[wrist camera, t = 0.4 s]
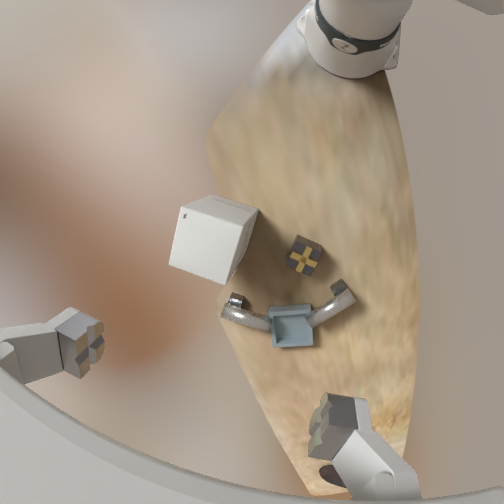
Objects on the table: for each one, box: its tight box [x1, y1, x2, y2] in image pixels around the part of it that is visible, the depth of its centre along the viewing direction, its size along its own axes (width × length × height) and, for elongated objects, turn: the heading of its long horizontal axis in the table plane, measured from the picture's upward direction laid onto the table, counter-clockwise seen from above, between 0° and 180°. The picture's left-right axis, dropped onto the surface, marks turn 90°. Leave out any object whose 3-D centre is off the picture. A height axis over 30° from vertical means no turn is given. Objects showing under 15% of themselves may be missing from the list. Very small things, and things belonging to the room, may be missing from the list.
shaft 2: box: [305, 279, 356, 328], centre depth 53 cm, size 9×4×5 cm, turn 128°
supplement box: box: [169, 194, 259, 285], centre depth 47 cm, size 9×9×15 cm
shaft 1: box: [221, 292, 273, 333], centre depth 56 cm, size 9×4×5 cm, turn 73°
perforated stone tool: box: [319, 465, 346, 488], centre depth 66 cm, size 15×5×7 cm, turn 69°
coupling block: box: [286, 235, 322, 276], centre depth 51 cm, size 4×4×5 cm
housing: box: [268, 304, 313, 348], centre depth 57 cm, size 8×8×2 cm
